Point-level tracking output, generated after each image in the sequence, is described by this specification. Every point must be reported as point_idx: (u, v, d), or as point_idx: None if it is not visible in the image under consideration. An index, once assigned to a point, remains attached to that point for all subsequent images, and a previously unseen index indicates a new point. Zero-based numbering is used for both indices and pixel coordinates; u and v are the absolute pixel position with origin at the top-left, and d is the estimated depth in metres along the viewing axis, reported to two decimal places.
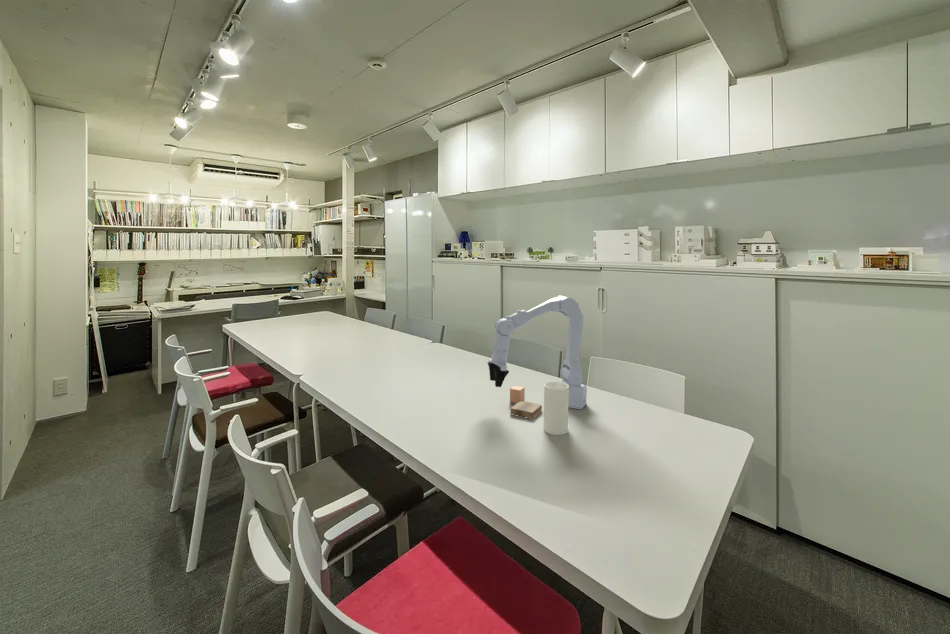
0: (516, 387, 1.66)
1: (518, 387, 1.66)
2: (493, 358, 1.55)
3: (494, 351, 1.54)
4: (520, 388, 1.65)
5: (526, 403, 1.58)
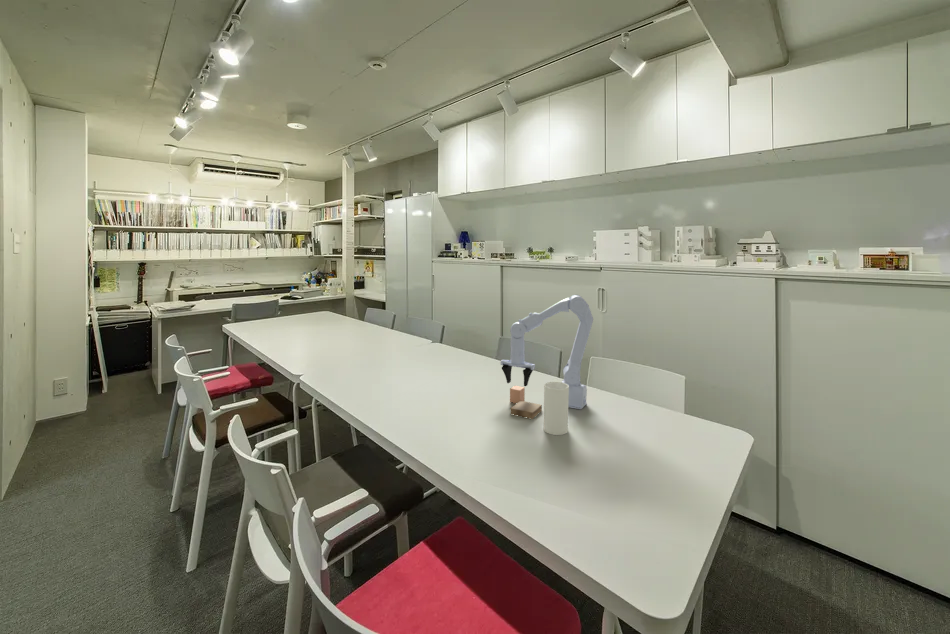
0: (516, 387, 1.66)
1: (518, 387, 1.66)
2: (516, 361, 1.61)
3: (516, 355, 1.61)
4: (520, 388, 1.65)
5: (526, 403, 1.58)
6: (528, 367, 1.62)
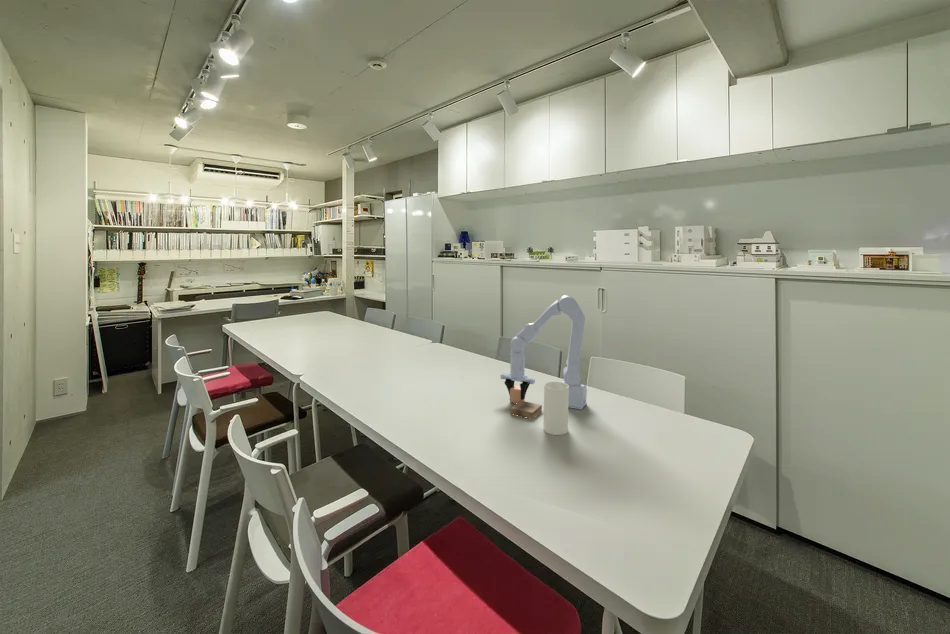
0: (516, 387, 1.66)
1: (518, 387, 1.66)
2: (516, 376, 1.62)
3: (516, 369, 1.62)
4: (520, 388, 1.65)
5: (526, 403, 1.58)
6: (528, 381, 1.62)
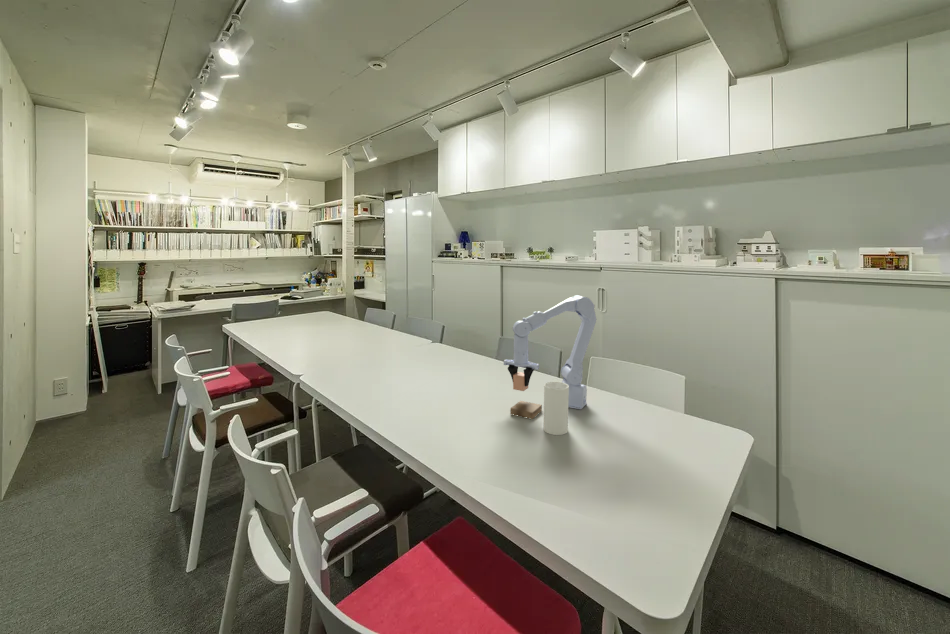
0: (519, 373, 1.60)
1: (522, 373, 1.61)
2: (520, 361, 1.57)
3: (520, 354, 1.56)
4: None
5: (526, 403, 1.58)
6: (532, 367, 1.57)
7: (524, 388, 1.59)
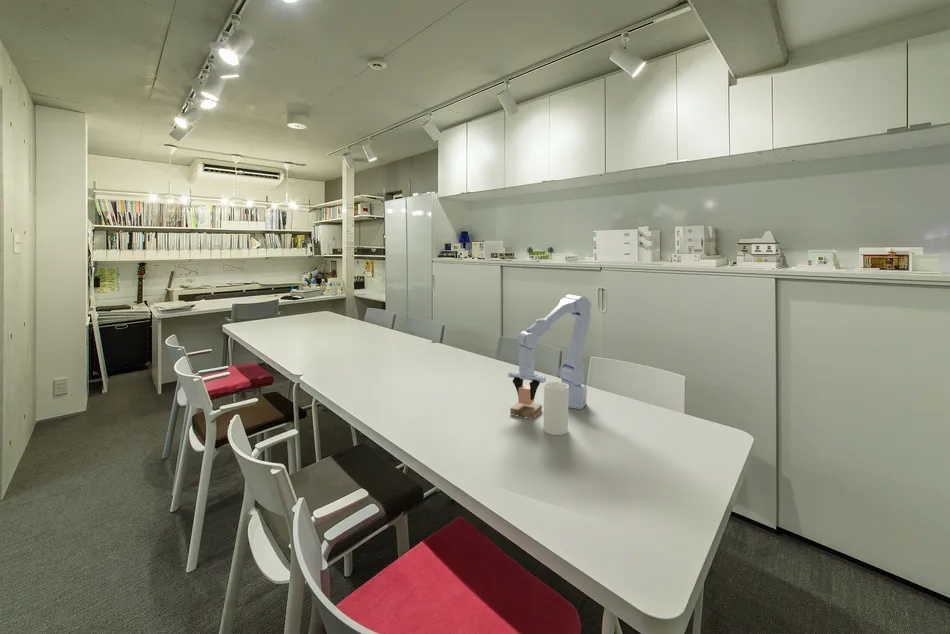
0: (525, 386, 1.54)
1: (527, 386, 1.54)
2: (526, 374, 1.50)
3: (526, 367, 1.49)
4: (529, 387, 1.53)
5: None
6: (538, 380, 1.50)
7: (530, 402, 1.52)
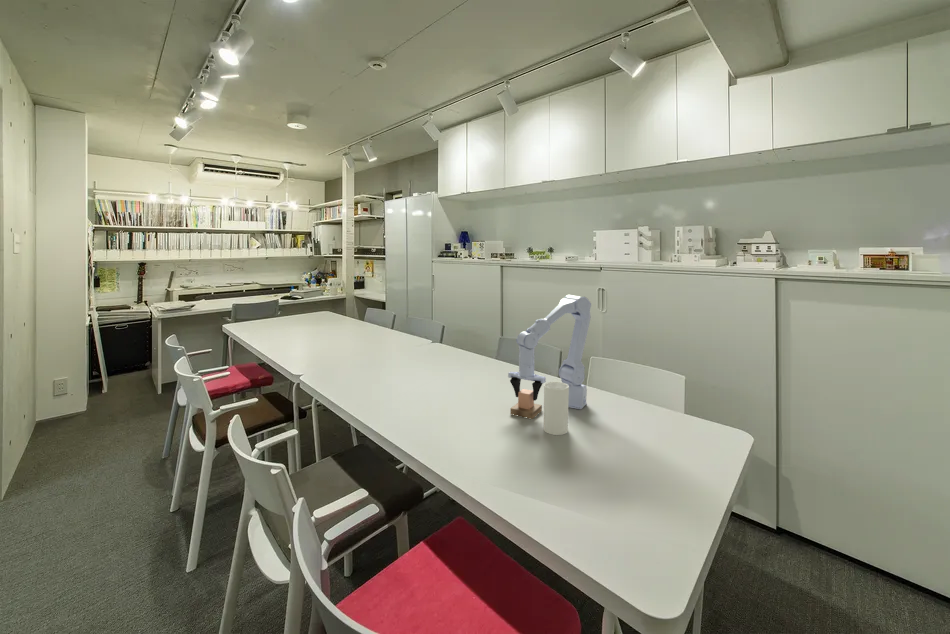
0: (524, 391, 1.54)
1: (527, 391, 1.54)
2: (526, 374, 1.50)
3: (526, 367, 1.49)
4: (529, 392, 1.53)
5: None
6: (538, 380, 1.50)
7: (530, 406, 1.52)
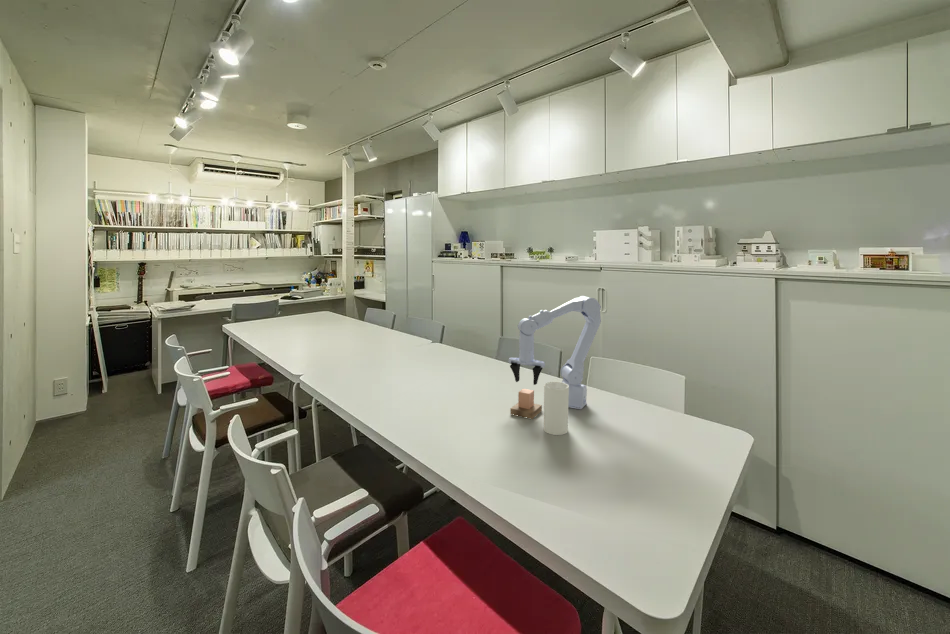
0: (524, 391, 1.54)
1: (527, 390, 1.55)
2: (526, 359, 1.56)
3: (526, 352, 1.55)
4: (529, 391, 1.53)
5: None
6: (538, 365, 1.56)
7: (530, 406, 1.53)
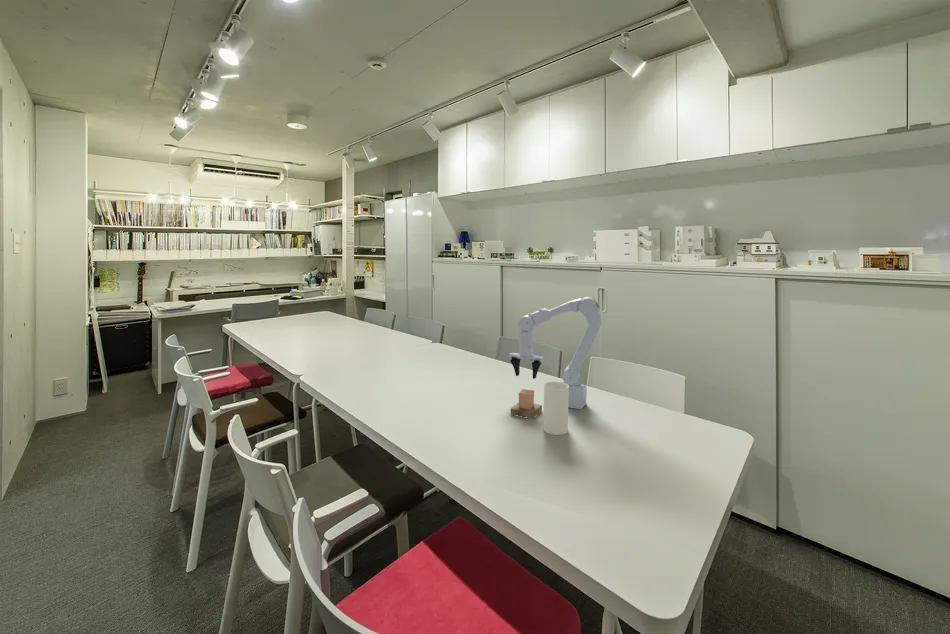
0: (525, 391, 1.54)
1: (527, 391, 1.54)
2: (525, 354, 1.63)
3: (525, 348, 1.63)
4: (529, 392, 1.53)
5: None
6: (537, 360, 1.64)
7: (530, 406, 1.52)
